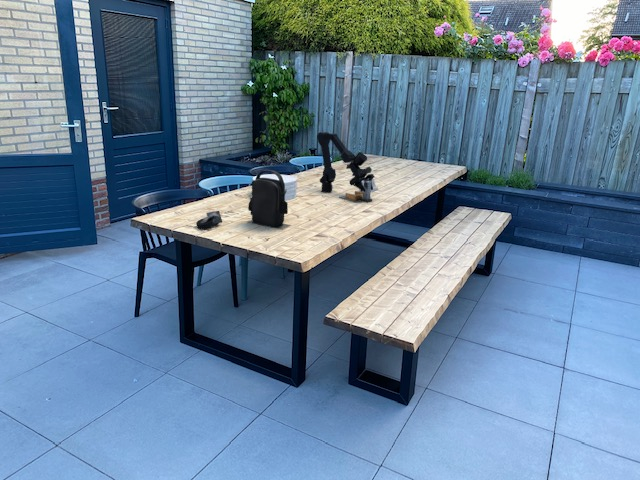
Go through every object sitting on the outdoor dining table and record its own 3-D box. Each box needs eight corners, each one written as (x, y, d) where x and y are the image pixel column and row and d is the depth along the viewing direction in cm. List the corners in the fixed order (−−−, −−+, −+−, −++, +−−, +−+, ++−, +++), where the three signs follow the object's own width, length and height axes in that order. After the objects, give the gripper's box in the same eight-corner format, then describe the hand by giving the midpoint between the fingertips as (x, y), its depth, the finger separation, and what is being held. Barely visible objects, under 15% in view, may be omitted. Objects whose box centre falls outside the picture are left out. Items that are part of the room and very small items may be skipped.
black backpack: (292, 225, 248) (293, 171, 239) (282, 229, 240) (283, 174, 232) (257, 218, 258) (256, 166, 250) (246, 222, 251) (245, 168, 242)
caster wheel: (197, 234, 237) (201, 225, 246) (219, 230, 236) (222, 221, 245) (193, 222, 234) (197, 213, 243) (215, 218, 233) (219, 210, 242)
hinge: (365, 193, 324) (362, 179, 323) (360, 195, 327) (356, 180, 326) (378, 189, 337) (375, 175, 336) (372, 191, 340) (369, 177, 339)
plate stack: (290, 202, 294) (290, 184, 290) (246, 199, 299) (246, 180, 295) (301, 193, 320) (301, 176, 316) (260, 189, 325) (260, 173, 321)
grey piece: (360, 201, 303) (362, 180, 299) (365, 199, 307) (367, 179, 303) (366, 202, 300) (368, 182, 296) (371, 201, 304) (373, 181, 299)
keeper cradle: (338, 197, 310) (339, 192, 309) (352, 194, 319) (353, 189, 318) (354, 201, 301) (354, 196, 300) (368, 198, 311) (368, 193, 310)
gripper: (354, 164, 292) (367, 185, 288) (373, 161, 305) (385, 181, 301) (343, 174, 300) (356, 195, 296) (362, 171, 313) (375, 191, 309)
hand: (368, 190), depth 300 cm, fingers open, 7 cm apart
